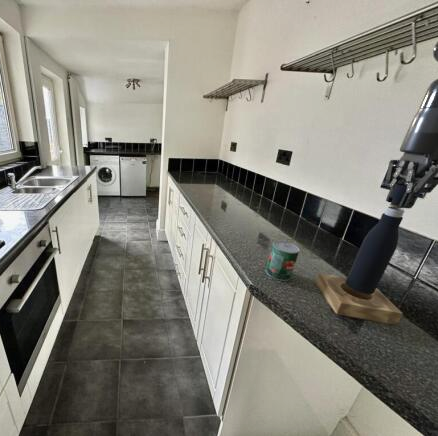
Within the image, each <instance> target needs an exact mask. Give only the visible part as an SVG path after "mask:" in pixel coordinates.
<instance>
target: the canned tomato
mask: <svg viewBox="0 0 438 436" xmlns="http://www.w3.org/2000/svg"><path fill="white" fill-rule="evenodd" d="M300 250H301V249H300V248H299V247H298V246H297V245H296V244H294V243H291V242H289V241H283V240H276V241H273V242H272V246H271V249H270V253H269V257H268V261H267V264H266V268H265V273H266V275H268V277H270V278H272V279H274V280H277V281H280V282H288V281H290V280H291V278H292V276H293V272H294V268H295V266H296V263H297V260H298V257H299V254H300Z"/></svg>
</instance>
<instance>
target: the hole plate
mask: <svg viewBox="0 0 438 436" xmlns="http://www.w3.org/2000/svg"><path fill="white" fill-rule="evenodd" d="M347 277H348V276H340V275H333V274H327V273H318V276H317V277H316V281H315V285H316V286H317V288H318V289H319V291H320V292H321V294H322V295H323V297H324V298H325V300H326V301H327V303H328V304H329V306H330V307H331V309H332V310H333V311H334V313H335V314H336V315H339V316H346V317H349V318H357V319H361V320H368V321H373V322H377V323H378V322H379V323H382V324H383V323H384V324H389V325H394V326H396V325H397V324H398V323H399V321H400V319H401V317H402V316H403V315H404V313H403V312H402V311H401V310H400V309H399V308H398V307H397V306H396V305H395V304H394V303H393V302H392V301H390V300H389V298H388V297H387V296H386V295H384V294H383V293H382V291H380V290H379V289H378V288H377V287H376V289H375V291H374V293H372V294H364V293H361V292H358V291H355V290H354V289H352V288H350V287H349V286H348V285H347V284H346V282H345V281H346V279H347Z"/></svg>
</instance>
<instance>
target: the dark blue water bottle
mask: <svg viewBox="0 0 438 436" xmlns="http://www.w3.org/2000/svg"><path fill="white" fill-rule="evenodd" d="M407 185H408V184H395V186H394V189H393V191H392V193H391V195H390V197H391V198H393V200H392V202H390V203H389V206H387V207H386V208H385V210H384V212H383V213H382V214H381V216H380V219H379V221H378V222H377V224H375V225H374V226H373V227H372V228H371V229H370V230H369V231H368V233H366V236H365V237H364V238H363V240H362V243H361V245H360V247H359V249H358V252H357V254H356V255H355V259H354V261H353V264H352V266H351V268H350V270H349V273H348V275H347V276H346V277H347V279H346V281H345V282H346V284H347V285H348V286H349V287H350V288H352V289H354V290H355V291H358V292H361V293H364V294H372V293H374V291H375V289H376V288H377V287H378V285H379V284H380V281H381V279H382V278H383V276H384V274H385V272H386V270H387V267H388V266H389V264H390V262H391V260H392V258H393V256H394V254H395V252H396V250H397V247H398V243H399V227H400V225H401V223H402V221H403V219H404V217H403V216H404V213H405V208H401V207H399V204H400V202H401V200H402V198H403V195H404V193H405V192H406V189H407ZM414 187H416V185H414Z"/></svg>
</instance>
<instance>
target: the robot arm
mask: <svg viewBox="0 0 438 436" xmlns="http://www.w3.org/2000/svg"><path fill="white" fill-rule="evenodd" d="M432 56H433V59H434V60H435V61H436V62H437V63H438V41H437V42H436V43H435V44H434V47H433V50H432ZM408 126H409V127H408V128H407V132H406V133H405V136H404V138H403V140H402V143H401V144H400V147H399V151H400V152H402V153H403V154H402V156H400V158H399V159H390V160H389V161H388V167H387V173H386V179H385V183H386V184H389V187H390V189H389V191H388V193H387V196H386V198H385V202H387V203H391V202H392V200H393V198H391V197H390V195H391V193H392V191H393V189H394V186H395V184H406V185H407V189H406V192H405V193H404V195H403V198H402V200H401V202H400V204H399V207H401V209H412V208H413V207H414V206H415V204H416V201H417V200H418V198H419V196H420V195H421V194H426V193H427V194H431V192H433V190H434V189H435V188H436V187H437V186H438V78H437V79H434V80H433V81H432V82H431V83H430V84H429V86H428V87H427V89H426V91H425V93H424V96H423V98H422V100H421V102H420V105H419V107H418V108H417V112H415V114H414V116H413V118H412V120H411V121H410V124H409V125H408ZM414 186H416V187H414Z"/></svg>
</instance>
